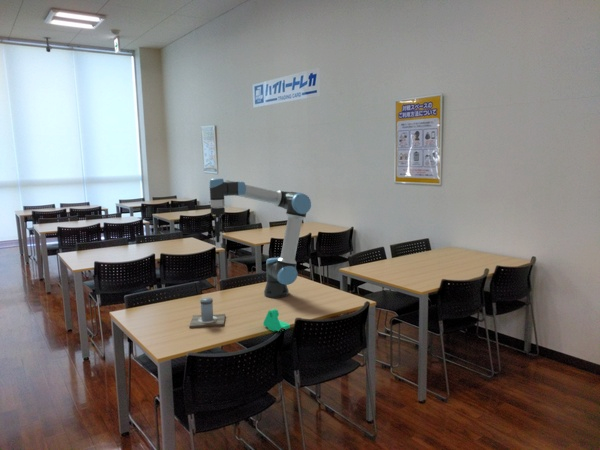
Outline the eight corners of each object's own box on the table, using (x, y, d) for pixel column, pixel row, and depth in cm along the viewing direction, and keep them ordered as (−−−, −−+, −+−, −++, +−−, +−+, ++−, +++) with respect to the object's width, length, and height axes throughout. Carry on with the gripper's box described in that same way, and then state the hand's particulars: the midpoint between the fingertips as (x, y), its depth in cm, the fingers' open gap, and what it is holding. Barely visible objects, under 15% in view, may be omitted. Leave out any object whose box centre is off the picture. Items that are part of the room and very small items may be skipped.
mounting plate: (193, 317, 245) (193, 315, 245) (225, 316, 246) (225, 313, 246) (189, 328, 230) (189, 325, 230) (223, 326, 232) (223, 323, 231)
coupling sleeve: (201, 317, 240) (201, 297, 239) (213, 317, 241) (213, 297, 239) (200, 322, 234) (199, 301, 233) (212, 321, 235) (212, 300, 233)
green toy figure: (290, 329, 227) (290, 309, 225) (279, 333, 221) (278, 313, 220) (274, 323, 235) (274, 304, 234) (263, 327, 230) (262, 307, 228)
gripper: (212, 205, 260) (214, 241, 263) (208, 210, 235) (210, 250, 238) (225, 204, 261) (227, 241, 264) (223, 209, 236) (224, 249, 239)
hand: (219, 245), depth 251 cm, fingers open, 13 cm apart
